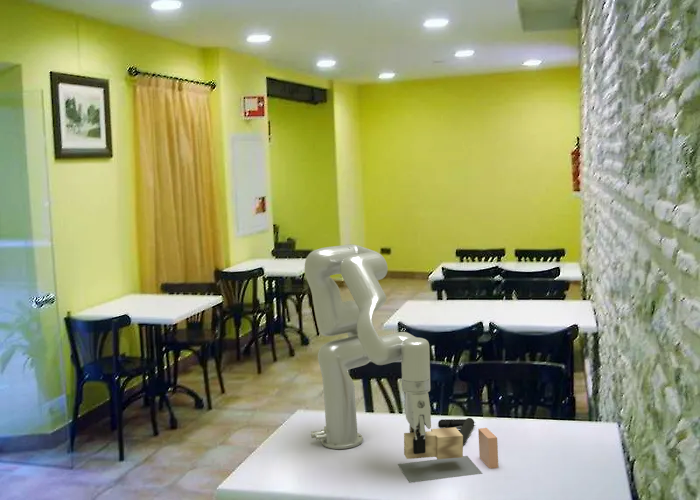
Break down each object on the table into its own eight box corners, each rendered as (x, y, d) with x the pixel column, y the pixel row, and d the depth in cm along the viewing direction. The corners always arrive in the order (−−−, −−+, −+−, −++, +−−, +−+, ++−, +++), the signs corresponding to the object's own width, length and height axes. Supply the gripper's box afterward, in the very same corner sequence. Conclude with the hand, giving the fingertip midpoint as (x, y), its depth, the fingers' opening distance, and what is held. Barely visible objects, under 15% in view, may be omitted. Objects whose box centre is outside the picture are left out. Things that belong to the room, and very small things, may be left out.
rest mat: (409, 484, 193) (408, 482, 193) (397, 466, 206) (397, 464, 205) (482, 475, 196) (482, 473, 196) (467, 457, 209) (467, 455, 209)
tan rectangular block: (489, 470, 199) (488, 438, 198) (479, 460, 207) (478, 428, 206) (498, 469, 199) (497, 437, 198) (488, 458, 207) (487, 427, 206)
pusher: (408, 461, 197) (408, 439, 196) (402, 452, 203) (402, 430, 202) (462, 457, 199) (462, 435, 198) (455, 448, 205) (455, 427, 205)
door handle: (413, 438, 220) (467, 438, 215) (428, 417, 239) (477, 416, 234) (414, 449, 221) (468, 449, 215) (429, 427, 239) (479, 426, 234)
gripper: (438, 392, 190) (439, 461, 193) (421, 374, 206) (423, 437, 209) (409, 395, 189) (411, 464, 191) (395, 376, 205) (397, 440, 208)
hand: (417, 449), depth 200 cm, fingers closed on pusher, 3 cm apart
